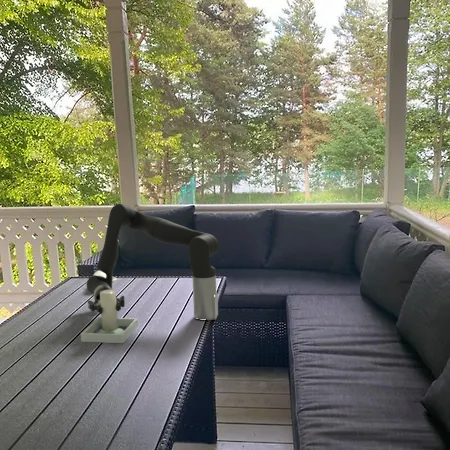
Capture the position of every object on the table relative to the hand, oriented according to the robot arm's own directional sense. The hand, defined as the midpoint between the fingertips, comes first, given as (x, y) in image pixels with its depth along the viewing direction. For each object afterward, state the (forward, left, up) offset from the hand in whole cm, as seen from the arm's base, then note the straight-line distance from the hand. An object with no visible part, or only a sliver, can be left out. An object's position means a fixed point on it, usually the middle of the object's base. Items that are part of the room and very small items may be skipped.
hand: (109, 309), depth 159 cm
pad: (+1, -2, -10) cm, 10 cm away
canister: (+1, -2, -8) cm, 8 cm away
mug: (+27, -57, -10) cm, 64 cm away
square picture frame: (+1, -2, -10) cm, 10 cm away
